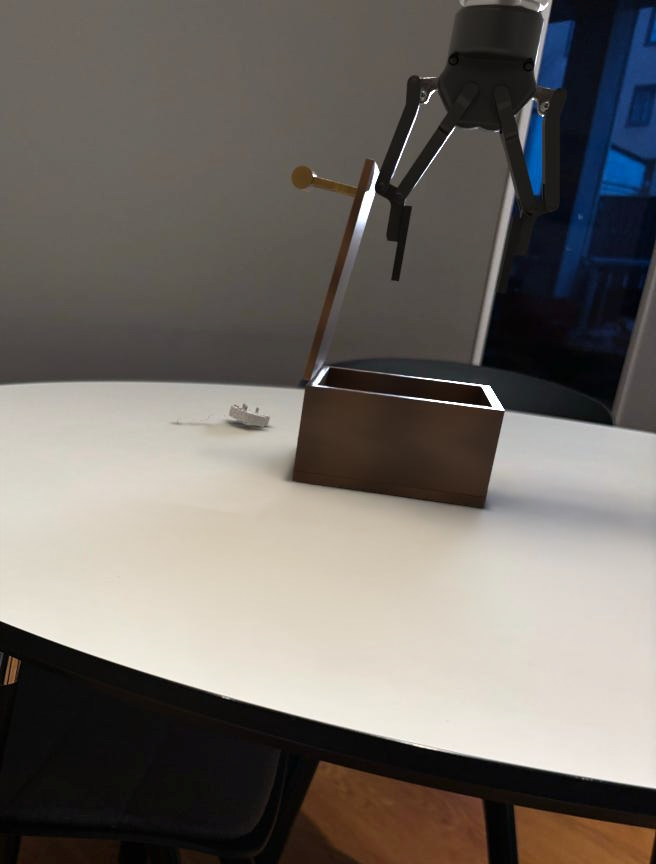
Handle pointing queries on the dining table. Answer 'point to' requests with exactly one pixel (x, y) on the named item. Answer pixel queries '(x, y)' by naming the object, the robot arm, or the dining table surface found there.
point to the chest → (398, 435)
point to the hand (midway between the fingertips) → (447, 286)
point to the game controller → (247, 415)
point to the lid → (347, 252)
